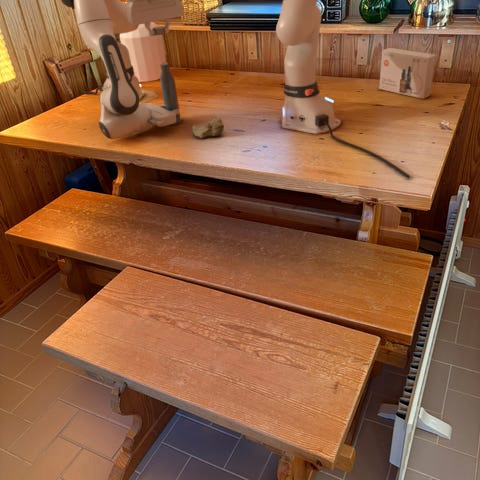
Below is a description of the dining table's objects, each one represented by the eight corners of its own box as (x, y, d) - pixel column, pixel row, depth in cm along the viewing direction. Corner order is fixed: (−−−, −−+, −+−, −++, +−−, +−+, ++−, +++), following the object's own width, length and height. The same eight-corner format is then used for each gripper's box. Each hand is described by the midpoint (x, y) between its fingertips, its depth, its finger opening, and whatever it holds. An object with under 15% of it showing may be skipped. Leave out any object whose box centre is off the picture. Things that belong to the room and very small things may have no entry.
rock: (192, 135, 173) (196, 140, 164) (189, 118, 170) (194, 122, 161) (220, 130, 175) (226, 135, 166) (218, 113, 172) (223, 117, 163)
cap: (150, 35, 164) (149, 28, 163) (159, 32, 167) (158, 26, 166) (159, 35, 162) (158, 29, 161) (168, 32, 165) (167, 26, 164)
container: (160, 81, 233) (149, 21, 217) (121, 82, 238) (108, 23, 222) (174, 69, 249) (165, 13, 233) (138, 70, 254) (126, 15, 238)
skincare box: (377, 89, 194) (381, 50, 185) (385, 86, 197) (389, 47, 188) (423, 99, 180) (429, 56, 171) (430, 95, 183) (437, 53, 174)
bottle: (172, 119, 186) (163, 61, 174) (184, 120, 184) (174, 62, 171) (164, 123, 182) (154, 65, 170) (175, 125, 180) (166, 66, 167)
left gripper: (154, 116, 165) (186, 106, 172) (129, 104, 179) (160, 95, 186) (157, 133, 169) (189, 122, 175) (132, 120, 183) (162, 110, 189)
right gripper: (174, -14, 163) (180, 28, 171) (120, -6, 155) (129, 38, 163) (183, -14, 159) (189, 30, 167) (127, -4, 150) (136, 41, 158)
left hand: (174, 108), depth 181 cm, fingers closed on bottle, 5 cm apart
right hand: (159, 34), depth 165 cm, fingers closed on cap, 4 cm apart
